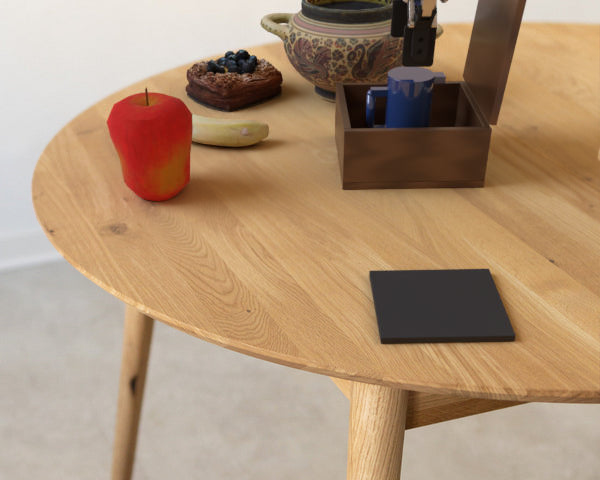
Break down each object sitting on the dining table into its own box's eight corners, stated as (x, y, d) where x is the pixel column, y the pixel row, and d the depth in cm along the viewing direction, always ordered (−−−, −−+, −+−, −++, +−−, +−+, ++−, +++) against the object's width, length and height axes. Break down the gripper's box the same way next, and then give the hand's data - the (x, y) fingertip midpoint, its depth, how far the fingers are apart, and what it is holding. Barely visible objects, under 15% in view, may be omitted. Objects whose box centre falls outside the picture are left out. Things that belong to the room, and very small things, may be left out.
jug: (432, 143, 94) (440, 65, 88) (440, 162, 89) (448, 81, 84) (362, 144, 93) (365, 66, 88) (366, 163, 89) (370, 82, 84)
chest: (342, 189, 86) (344, 131, 82) (334, 135, 98) (335, 82, 94) (483, 187, 86) (492, 129, 82) (458, 133, 98) (465, 80, 94)
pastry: (176, 95, 109) (172, 53, 106) (241, 74, 116) (239, 34, 113) (227, 116, 103) (224, 72, 99) (292, 93, 110) (292, 51, 106)
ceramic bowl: (439, 101, 114) (451, -9, 109) (429, 117, 98) (442, -12, 92) (277, 88, 119) (281, -18, 114) (242, 101, 103) (245, -22, 97)
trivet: (488, 273, 72) (488, 268, 72) (514, 341, 64) (516, 335, 64) (369, 275, 72) (369, 270, 72) (380, 343, 64) (381, 337, 63)
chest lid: (528, -43, 72) (536, -42, 72) (493, -73, 84) (500, -73, 84) (489, 125, 82) (496, 125, 82) (462, 76, 94) (468, 77, 94)
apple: (211, 181, 88) (203, 78, 81) (174, 215, 81) (162, 106, 74) (145, 168, 90) (131, 68, 83) (104, 201, 84) (86, 94, 77)
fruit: (234, 162, 92) (232, 136, 90) (143, 131, 99) (140, 106, 97) (272, 142, 96) (271, 116, 94) (183, 114, 104) (180, 90, 102)
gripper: (484, -115, 68) (459, 78, 78) (449, -140, 82) (432, 26, 92) (398, -115, 67) (384, 78, 77) (377, -140, 82) (368, 26, 92)
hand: (410, 50), depth 85 cm, fingers open, 9 cm apart
